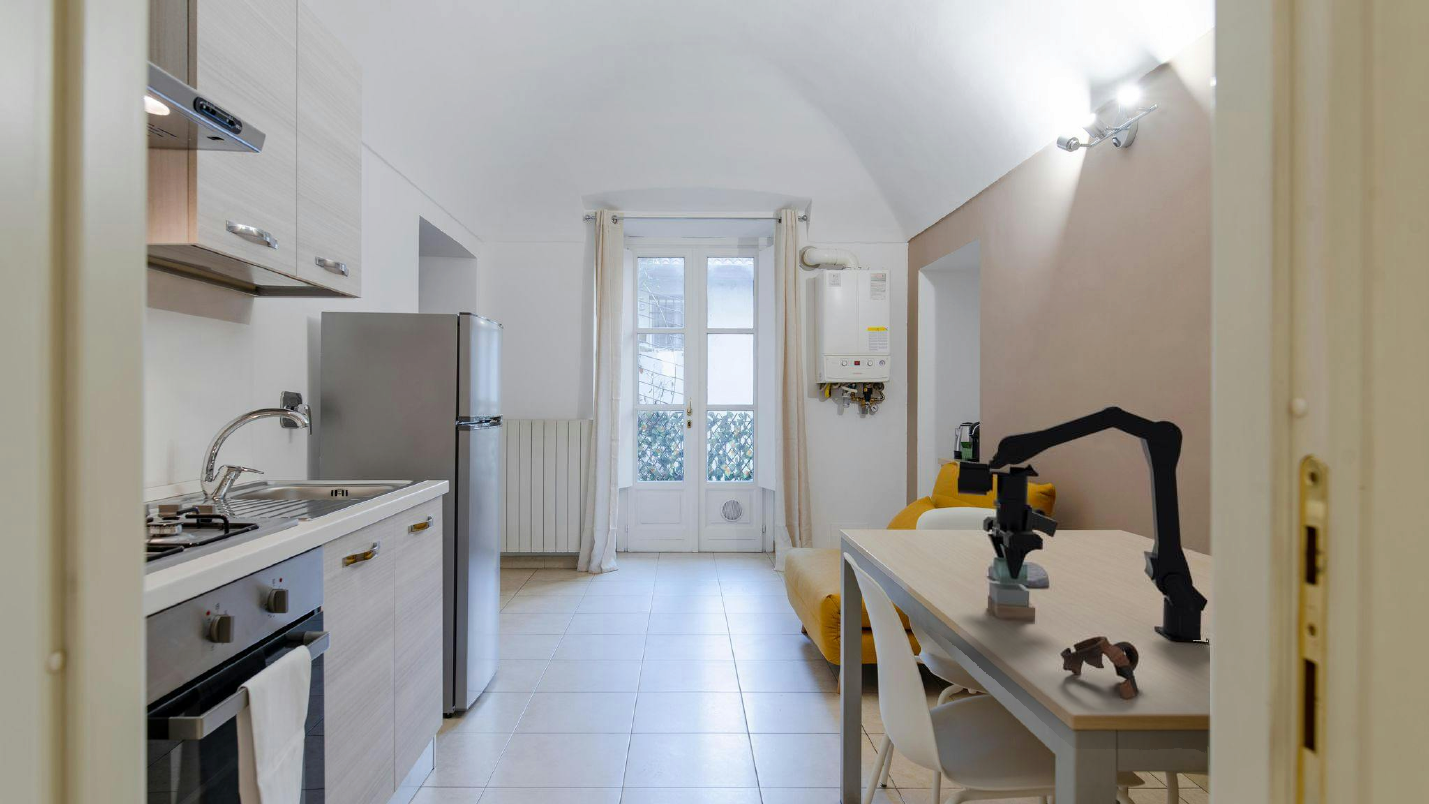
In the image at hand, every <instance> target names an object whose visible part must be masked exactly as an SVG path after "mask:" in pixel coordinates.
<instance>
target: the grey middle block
mask: <svg viewBox="0 0 1429 804" xmlns="http://www.w3.org/2000/svg"><path fill="white" fill-rule="evenodd" d="M988 586H989V589H988V595H989V596H990V597H991V598H992V599H993V600H994V602H995V603H996V604H998V605H1016V606H1029V602H1030V590H1029V589H1028V588H1027V586H1023V585H1020V584H1001V583H999V582H998V581H996V580H989V584H988Z"/></svg>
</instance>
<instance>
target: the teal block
mask: <svg viewBox="0 0 1429 804" xmlns="http://www.w3.org/2000/svg"><path fill="white" fill-rule="evenodd" d="M1025 562H1026V561H1024V562H1023V564H1022V567H1021V570H1020V573H1019V576H1018V579H1012V578H1011V576H1010V573H1009V570H1008V567H1007V564H1006V561H1005V558H998V557H997V556H996V557H993V563H994V571H993V577H994V578H995V579H996V580H997V581H998V582H999V583H1001V584H1020V585H1027V570H1028V564H1026V563H1025ZM995 579H994V580H995ZM996 580H995V581H996Z"/></svg>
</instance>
